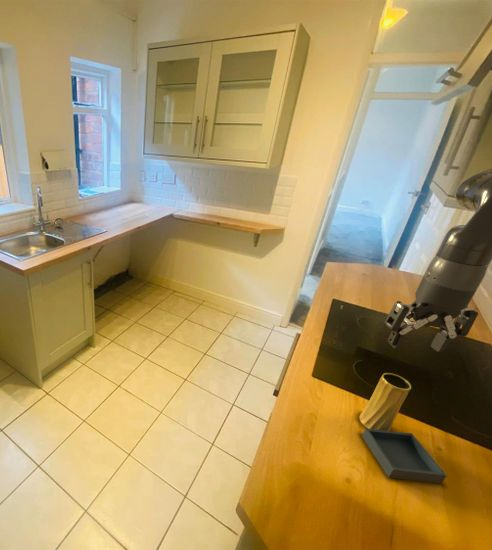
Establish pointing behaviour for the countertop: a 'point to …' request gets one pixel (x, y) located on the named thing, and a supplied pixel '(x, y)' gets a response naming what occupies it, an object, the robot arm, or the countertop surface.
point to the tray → (403, 456)
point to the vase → (385, 402)
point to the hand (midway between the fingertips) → (414, 347)
